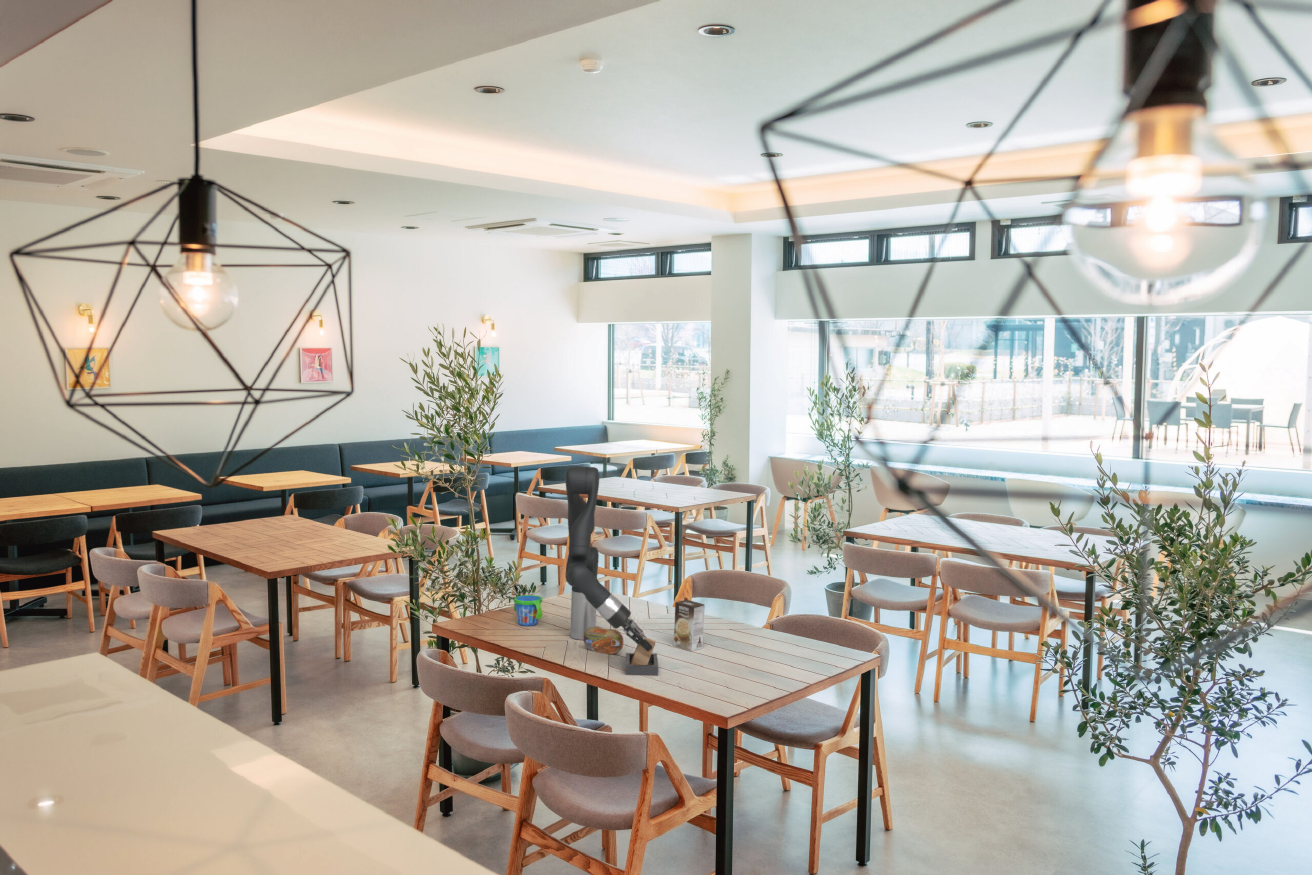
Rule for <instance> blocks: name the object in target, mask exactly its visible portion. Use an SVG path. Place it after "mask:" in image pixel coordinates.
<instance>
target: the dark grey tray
mask: <svg viewBox="0 0 1312 875" xmlns="http://www.w3.org/2000/svg"><path fill="white" fill-rule="evenodd" d="M633 655H634V652H626V653H625V676H657V677H658V676H659V661H658V660H659V659H658V653H652V654H651V656H650V659H649V662H648V664H647V665H631V660H632V658H633Z"/></svg>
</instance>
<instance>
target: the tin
mask: <svg viewBox="0 0 1312 875" xmlns="http://www.w3.org/2000/svg"><path fill="white" fill-rule="evenodd" d="M582 641H583V643H584V646H585V647H586V649H587V650H589V651H591V652H594V651H595V653H599V654H606V655H615V654H617V653H619V652H621V650H622V649H623V647H624V637H623V635H622V633H621V632H620V631H618V630H617V629H615V628H609V627H608V628H606V627H602V626H601V627H599V626H596V627H591V628H588V629H587V630H586V631H585V633H584V637H583V640H582Z"/></svg>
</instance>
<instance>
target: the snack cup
mask: <svg viewBox="0 0 1312 875" xmlns="http://www.w3.org/2000/svg"><path fill="white" fill-rule="evenodd" d="M513 602H514V605H513V610H514V612H515V614H516V620H517V624H518V625H519V626H523V627H531V626H534V625H537V624H538V622H539V620H540V619H542V618H543V610H542V605H541V604H542V602H543V598H542V597H541V596H539V595H533V594H525V595H518V596H514V598H513Z"/></svg>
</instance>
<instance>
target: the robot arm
mask: <svg viewBox="0 0 1312 875" xmlns="http://www.w3.org/2000/svg"><path fill="white" fill-rule="evenodd" d="M599 486H600V471H599V469H598V468H597V467H592V466H582V465H581V466H578V465H577V466H576V465H572V466H569V467H568V468H567V469H566V471H565V490H566V497H567V498H566V499H567V530H568V556H567V561H566V567H565V574H564V575H565V581H566V583H567V584H568V585H569V586H571V599H570V601H571V606H570V632H569V634H570V635H569V636H570V638H572V639H574V640H581V641H584V640H583V637H584V633H585V631H586V630H587V629H588V628H591V627H597V612H598V614H599V615H600V616H601V617H602V618H603V619H604V620H605V621H606V622H607V623H608V624H609V625H610V626H611V627H612V629H614V630H617V629H619V628H620V627H622V628H623V632H624V633H625V634H626V636H627V637H629V639H631V640H632V641H633V642H635V644H637V645H638V644H641V645H642V646H643V647H644V648H645V649H646V650H647V651H650V650H651V649H652V645H651V644H650V643H649V642H648V641H647V640H646V639H645V638H644V637H646V638H648V637H647V636H646V635H645V633H644V630H642V629H641V628H640V626H639V625H638V624H637V623H636V622H635V620H634V619H632V618H631V619H630V617H631V615H632V614H631V613H632V612H631V611H630V609H628V607H626V605H625V604H624V603H623V602H621V601H620V600H619V598H618V597H616V596H615V595H614V594H613V593H611V592H610V591H609V590H608V588H606V586H604V585H603V584H602V583H601V582H600V581H599V580H598V570H599V569H598V568H599V556H600V555H599V554H600V553H599V550H598V548H597V547H595V546H591V541H592V534H593V532H594V530H595V514H596V513H595V512H596V506H597V500H598V493H599V488H600V487H599ZM581 495H587V499H586V501H585V500H584V499H583V497H582V496H581Z"/></svg>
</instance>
